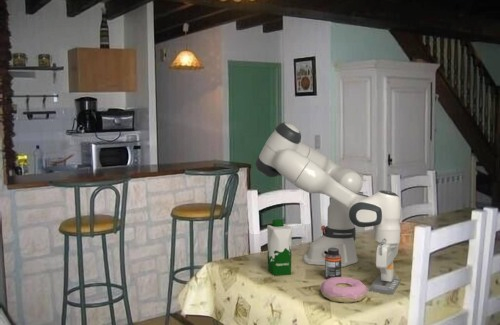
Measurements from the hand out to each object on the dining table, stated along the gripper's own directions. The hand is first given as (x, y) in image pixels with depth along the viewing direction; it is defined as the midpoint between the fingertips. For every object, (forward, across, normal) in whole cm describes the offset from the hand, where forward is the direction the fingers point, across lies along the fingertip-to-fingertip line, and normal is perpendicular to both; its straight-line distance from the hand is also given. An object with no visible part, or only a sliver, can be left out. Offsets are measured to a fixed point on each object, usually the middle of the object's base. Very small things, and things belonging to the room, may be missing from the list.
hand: (386, 274), depth 182 cm
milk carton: (+4, -5, +40) cm, 40 cm away
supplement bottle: (+4, -3, +19) cm, 19 cm away
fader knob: (+2, 0, 0) cm, 2 cm away
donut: (+4, -19, +10) cm, 22 cm away
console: (+4, -3, 0) cm, 5 cm away
